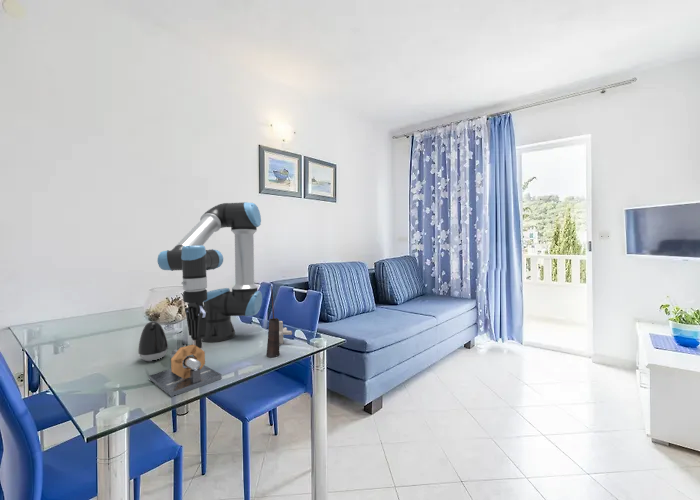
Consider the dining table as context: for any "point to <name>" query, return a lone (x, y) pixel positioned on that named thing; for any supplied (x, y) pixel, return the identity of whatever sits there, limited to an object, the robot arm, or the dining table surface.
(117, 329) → the dining table surface
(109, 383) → the dining table surface
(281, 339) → the pipe connector
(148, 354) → the black dome
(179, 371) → the ring
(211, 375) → the pipe stand
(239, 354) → the dining table surface
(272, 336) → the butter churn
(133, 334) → the dining table surface
